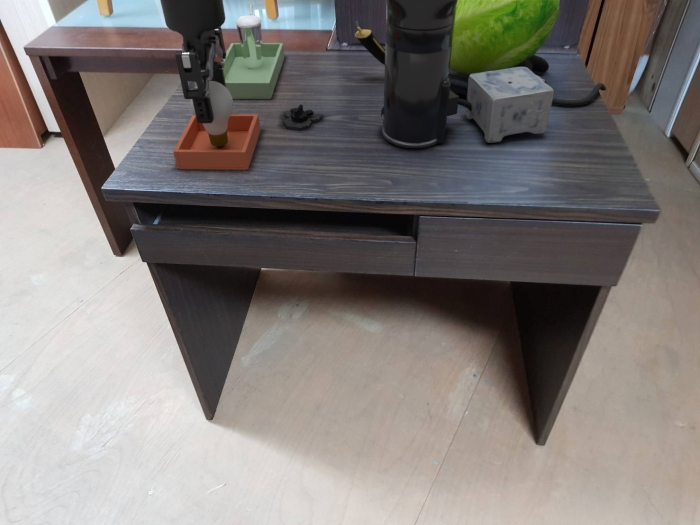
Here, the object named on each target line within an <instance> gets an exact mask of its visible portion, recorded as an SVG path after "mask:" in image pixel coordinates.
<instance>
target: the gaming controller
mask: <svg viewBox="0 0 700 525" xmlns="http://www.w3.org/2000/svg"><path fill="white" fill-rule="evenodd" d="M515 67H527V68H528V69H529V70H530V71H532V72H533V73H534V74H535V75H537V76H539V77H541V78H543V77H542V76H541V75H540V74H545V73H546V72H547V71H548V70H549V68H550V64H549V62H547V60H546V59H545V58H543V57H541V56H539V55H536V54H534V55H533V56H531V57H529V58H528V59H526V60H524V61H523V62H521V63H519V64H518V65H516V66H515ZM515 67H513V68H515ZM538 73H540V74H538ZM544 83H546V84H548V82H547V81H546V80H545V82H544ZM548 85H549V84H548Z"/></svg>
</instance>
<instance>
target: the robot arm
mask: <svg viewBox="0 0 700 525" xmlns="http://www.w3.org/2000/svg"><path fill="white" fill-rule="evenodd" d="M159 1H160V5H161V9H162V14H163V19H164V22H165V26H166V27H167V28H168V29H169V30H170V31H172V32H174V33H175V32H176V33H178V34H179V35H181V36H182V43H181V50H176V51H175V54H174V56H175V62H176V65H177V69H178V70H177V71H178V75H179V80H180V84H181V90H182V94H183V98H184V99H185V100H190V99H192V100H193V105H194V109H195V114H196V118H197V121H198V122H199V123H212V122H213V120H214V115H213V110H212V105H211V100H210V92H209V81H215V82H218V83H220V84H222V85H223V86H225V87H226V83H225V77H224V72H223V69H222V68H224V65H225V63H224V60H223V59H226V52H227V50H226V46H225V42H224V36H223V31H222V26H223V25H224V24H225V22H226V12H225V6H224V1H223V0H159ZM457 3H458V0H385V8H386V10H385V11H386V14H385V19H386V21H385V45H384V46H385V47H384V48H385V65H384V81H383V84H384V85H383V87H384V88H383V107H382V108H381V110H380V118H382V128H381V131H382V132H381V134H382V136H383V137H382V138H384V140H386V141H387V142H388V143H390V144H392V145H394V146H397V147H399V148H406V149H423V148H428V147H431V146H434V145H437V144H445V136H446V127H447V119H448V117H449V116H454V115H457V114H458V106H462V107H465V108H466V109H467V108H468V109H469V111H470V112H471V110H472V105H471V103H469V102H468V101H467V100H466V99H461V98H459V97H460V96H459V95H458V94H457V93H456V92H452V91H451V90H450V79H449V74H450V61H451V52H452V42H453V34H454V25H455V16H456V8H457ZM195 83H196V84H195ZM195 85H196V86H197V88H195V87H196V86H195ZM599 91H607V88H606V85H605V84H604V83H602V82H599V83H597V84H596V85H595V86H594V88H593V89H592V91H591V92H590V93H589V94H588V95H587V96H586V97H584V98H581V99H580V98H579V99H562V98H556V97H553V100H552V104H551V105H558V106H559V105H560V106H569V107H570V106H581V105H584V104H587V103H589V102H590V101H592V100H593V99H594V98H595V97H596V96H597V94H598V92H599Z"/></svg>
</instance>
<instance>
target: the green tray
mask: <svg viewBox="0 0 700 525" xmlns="http://www.w3.org/2000/svg"><path fill="white" fill-rule="evenodd" d="M284 48H285V47H284V43H283V42H262V55H263V65H262V67H260V68H258V69H249V68H247V67H246V66H245V61H244V57H243V52H242V47H241V43H240V42H230V44H229V46H228V48H227V50H226V59H223V60H224V63H225V65H224V68H222V69H223V72H224V77H225V83H226V88H227V89H228V91H229V92H230V94H231V96H232V100H271V99H272V98H273V94H274V91H275V88H276V85H277V82H278V79H279V76H280V73H281V70H282V67H283V64H284V61H285V49H284Z"/></svg>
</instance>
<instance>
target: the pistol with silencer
mask: <svg viewBox="0 0 700 525" xmlns="http://www.w3.org/2000/svg"><path fill="white" fill-rule="evenodd" d="M354 36H355V38H356V39H357V40H358V41H359V43H360V44H361V45H362V46H363V47H364V48H365V50H367V51H368V52H369V54H370V55H372V56H373V57H374V58H375V59H376V60H377V61H378V62H379V63H380V64H382V65H384V66H385V47H384V46H383V45H382V44H381V42H379V40H378V39H377V38H376V36H375V35H374V33H373V31H372V30H371V29H361V27H360V26H357V31H356V32H355V33H354ZM449 79H450V90H451V91H452V92H454V93H455V94H459V95H463V96H467V93H468V79H469V78H467V77H463V76H459V75H456V74H451V73H449Z"/></svg>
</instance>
